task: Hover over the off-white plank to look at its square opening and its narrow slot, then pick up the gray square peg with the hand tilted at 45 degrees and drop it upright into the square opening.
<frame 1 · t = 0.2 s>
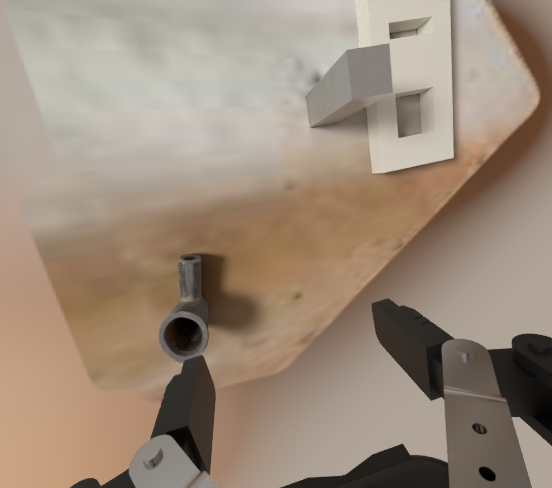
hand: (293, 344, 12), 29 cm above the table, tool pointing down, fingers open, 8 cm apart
gray square peg: (321, 109, 38), on the table
pipe: (192, 292, 41), on the table
socket plank: (400, 79, 38), on the table
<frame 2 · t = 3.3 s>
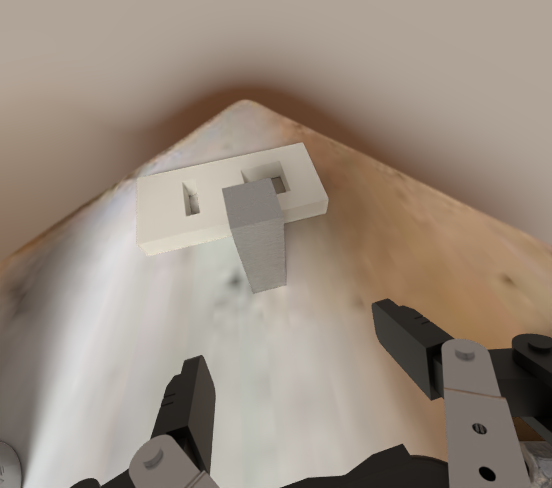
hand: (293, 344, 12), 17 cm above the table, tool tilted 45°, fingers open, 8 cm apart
gray square peg: (265, 274, 33), on the table
socket plank: (232, 202, 39), on the table
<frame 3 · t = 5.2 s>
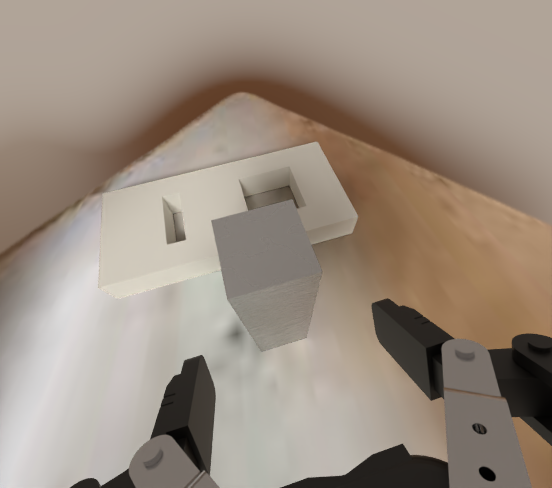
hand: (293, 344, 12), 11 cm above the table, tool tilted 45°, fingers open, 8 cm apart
gray square peg: (277, 322, 24), on the table
socket plank: (229, 221, 30), on the table
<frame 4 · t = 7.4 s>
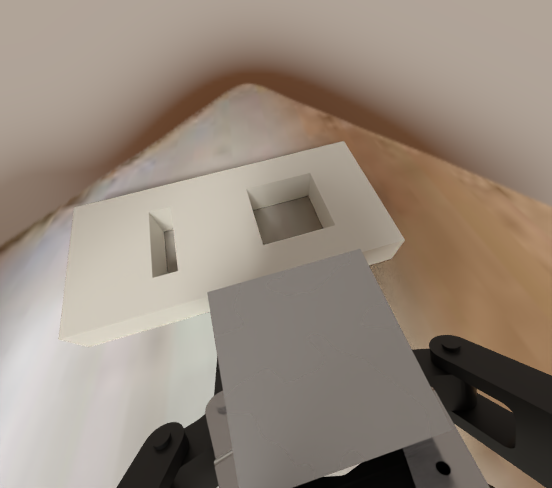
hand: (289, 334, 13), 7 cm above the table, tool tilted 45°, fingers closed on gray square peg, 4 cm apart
gray square peg: (299, 383, 18), on the table, touching gripper
socket plank: (234, 241, 24), on the table
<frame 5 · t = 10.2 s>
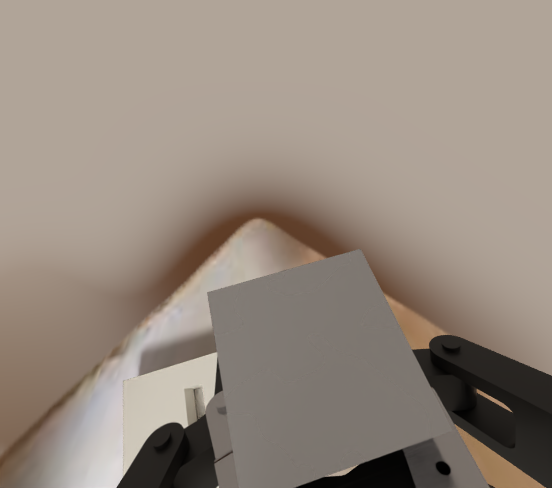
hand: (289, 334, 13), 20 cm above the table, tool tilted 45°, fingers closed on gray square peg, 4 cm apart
gray square peg: (299, 383, 18), point 13 cm above the table, touching gripper
socket plank: (251, 402, 29), on the table
when the fingers open (8 cm above the table, at t = 13.1 s): gray square peg drops 2 cm, resting in socket plank.
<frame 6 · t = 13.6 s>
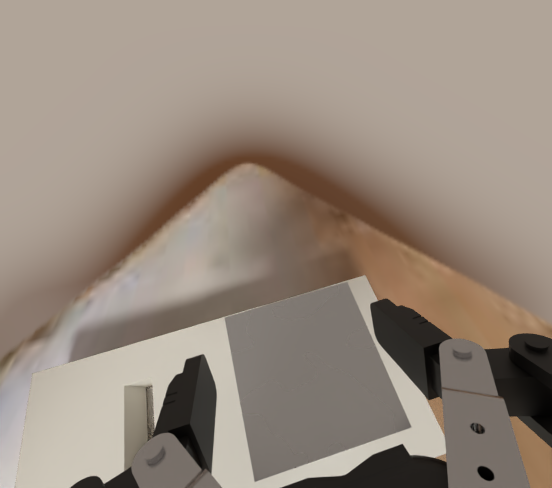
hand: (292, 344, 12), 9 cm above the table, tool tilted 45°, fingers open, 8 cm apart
gray square peg: (298, 386, 20), resting in socket plank
socket plank: (231, 407, 19), on the table
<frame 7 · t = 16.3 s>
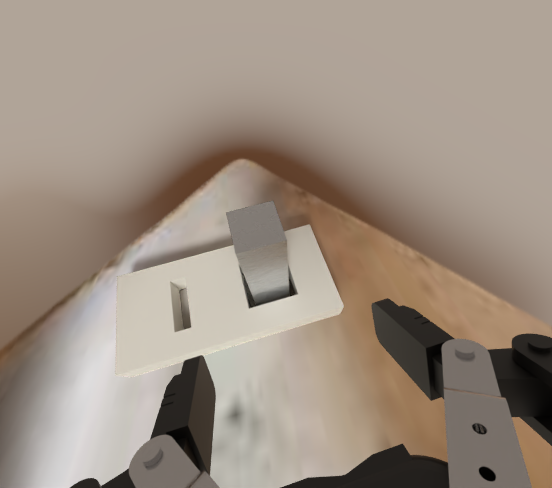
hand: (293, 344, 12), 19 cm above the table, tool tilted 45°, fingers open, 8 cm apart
gray square peg: (269, 288, 34), resting in socket plank
socket plank: (229, 299, 33), on the table
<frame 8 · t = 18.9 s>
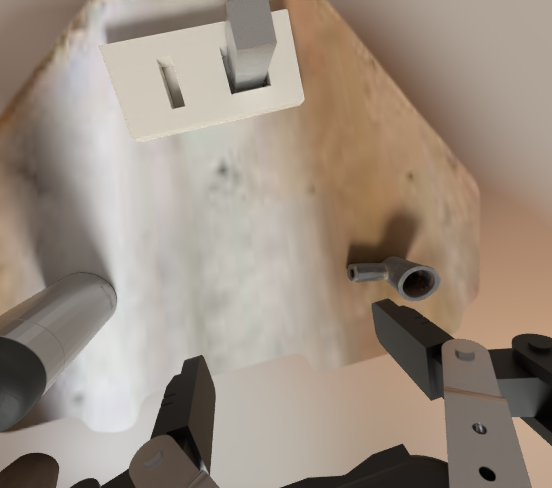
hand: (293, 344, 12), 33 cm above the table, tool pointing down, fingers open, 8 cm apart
gray square peg: (245, 75, 39), resting in socket plank
plant pot: (38, 467, 49), on the table
pipe: (377, 268, 50), on the table
socket plank: (210, 82, 38), on the table
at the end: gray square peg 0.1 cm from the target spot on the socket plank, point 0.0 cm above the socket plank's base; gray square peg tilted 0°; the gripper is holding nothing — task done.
